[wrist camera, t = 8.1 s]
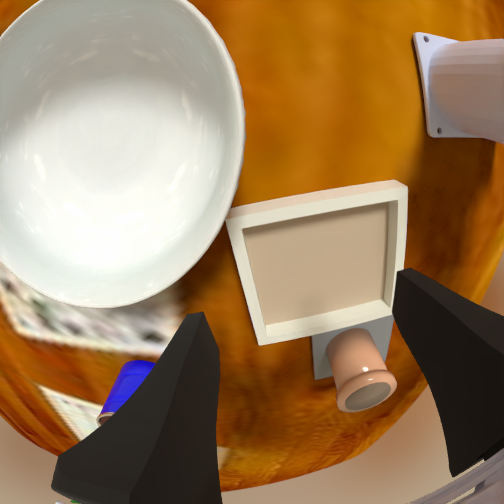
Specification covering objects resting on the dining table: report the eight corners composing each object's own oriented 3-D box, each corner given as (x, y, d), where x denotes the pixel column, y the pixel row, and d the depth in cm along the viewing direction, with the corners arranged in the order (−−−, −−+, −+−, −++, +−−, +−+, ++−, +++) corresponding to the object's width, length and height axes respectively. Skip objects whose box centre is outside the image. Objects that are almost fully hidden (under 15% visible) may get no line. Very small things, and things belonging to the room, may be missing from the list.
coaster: (393, 303, 23) (395, 307, 22) (383, 357, 27) (385, 361, 26) (309, 324, 23) (311, 328, 23) (313, 375, 27) (315, 380, 27)
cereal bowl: (297, 146, 16) (334, 171, 10) (123, 286, 21) (91, 350, 15) (136, -25, 10) (94, -70, 3) (-3, 144, 14) (-63, 168, 8)
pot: (367, 316, 23) (393, 369, 17) (378, 347, 25) (400, 395, 20) (315, 342, 24) (329, 398, 18) (332, 369, 26) (346, 419, 21)
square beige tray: (394, 179, 18) (407, 186, 16) (388, 300, 23) (397, 313, 21) (226, 209, 18) (224, 219, 17) (257, 330, 23) (258, 345, 22)
